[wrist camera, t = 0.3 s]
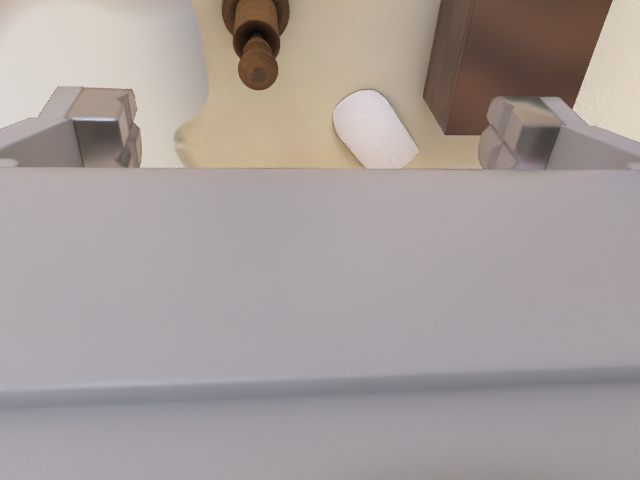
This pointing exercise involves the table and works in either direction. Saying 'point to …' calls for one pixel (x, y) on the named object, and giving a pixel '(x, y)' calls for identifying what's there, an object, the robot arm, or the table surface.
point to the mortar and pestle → (256, 37)
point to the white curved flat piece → (373, 131)
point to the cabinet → (507, 55)
